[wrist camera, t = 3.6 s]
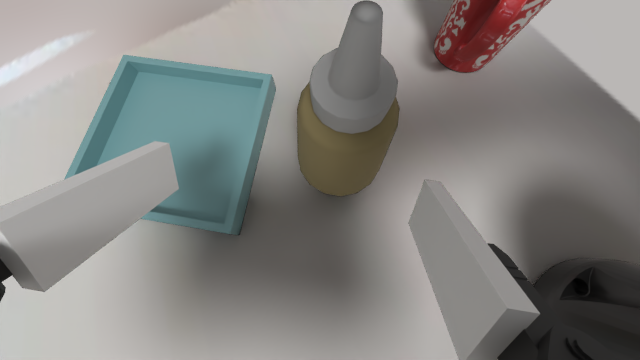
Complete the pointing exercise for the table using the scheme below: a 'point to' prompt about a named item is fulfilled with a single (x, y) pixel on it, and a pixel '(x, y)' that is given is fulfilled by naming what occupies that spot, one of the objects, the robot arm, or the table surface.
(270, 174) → the table surface
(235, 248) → the table surface
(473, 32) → the mug
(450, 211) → the robot arm
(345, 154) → the squeeze bottle
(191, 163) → the tray
